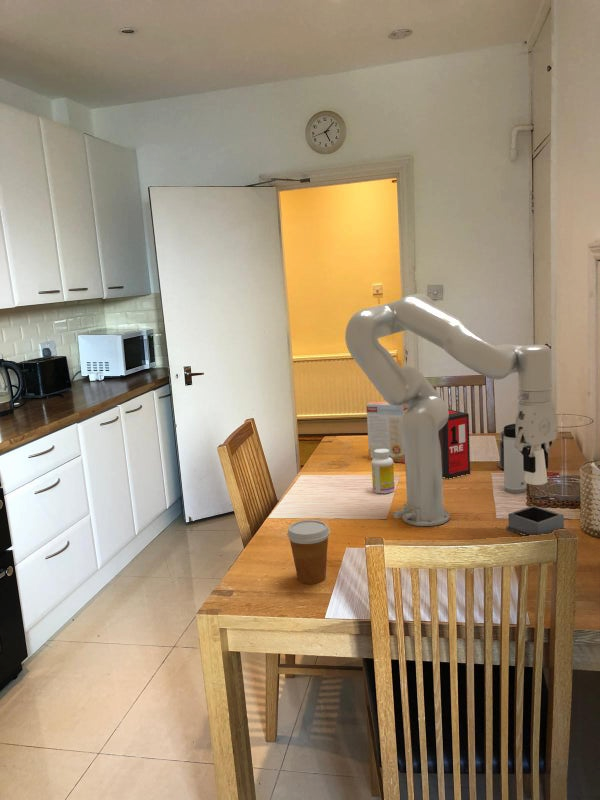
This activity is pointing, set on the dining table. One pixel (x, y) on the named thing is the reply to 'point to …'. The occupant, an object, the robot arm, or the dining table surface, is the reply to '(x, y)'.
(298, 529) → the disposable coffee cup
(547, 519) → the grey square tray
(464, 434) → the cleaning product box
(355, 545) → the dining table surface
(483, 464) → the dining table surface
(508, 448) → the travel mug
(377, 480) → the supplement bottle
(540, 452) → the pepper shaker
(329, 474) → the dining table surface
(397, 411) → the cracker box
